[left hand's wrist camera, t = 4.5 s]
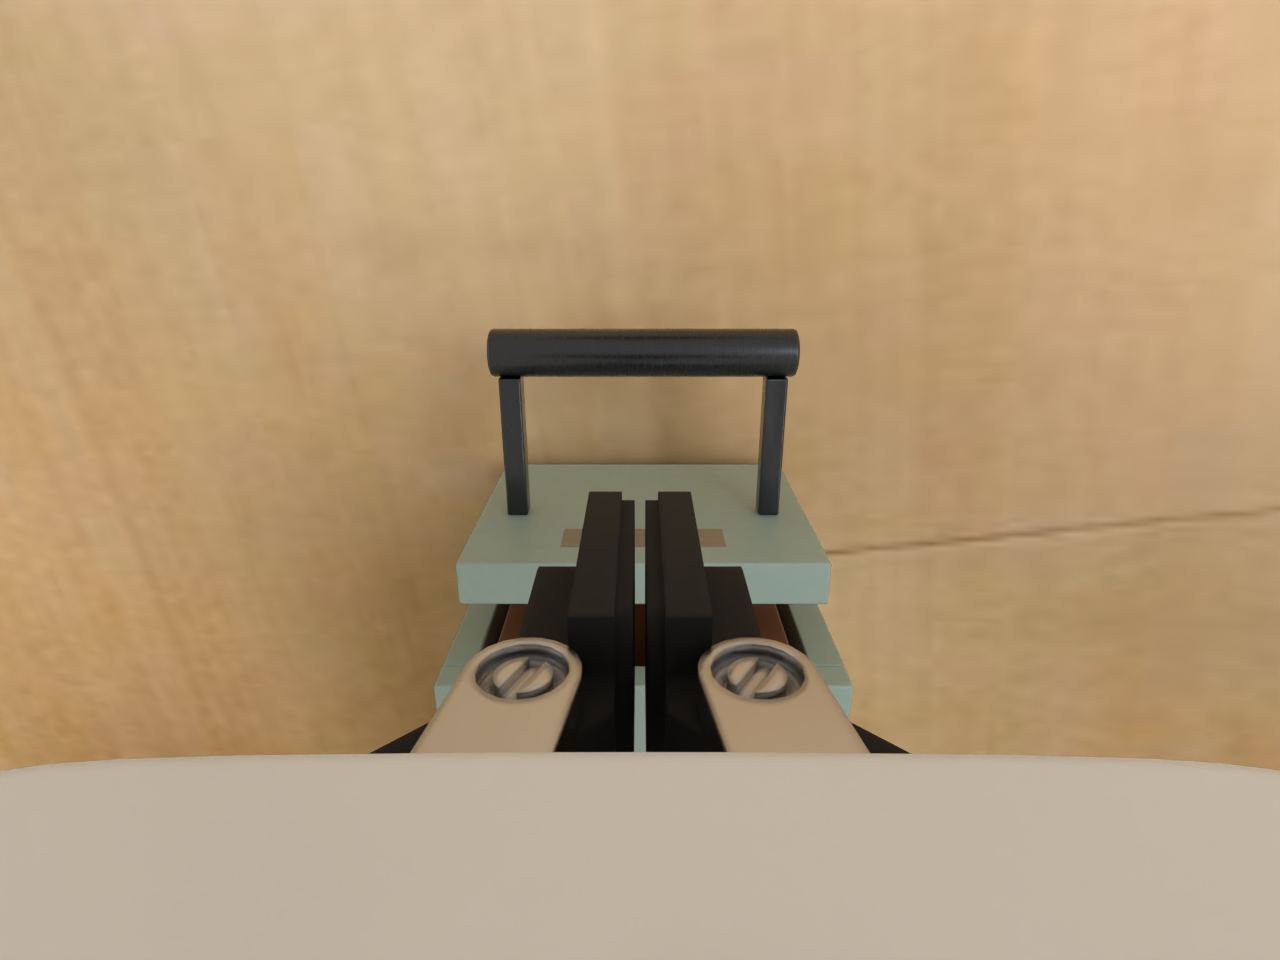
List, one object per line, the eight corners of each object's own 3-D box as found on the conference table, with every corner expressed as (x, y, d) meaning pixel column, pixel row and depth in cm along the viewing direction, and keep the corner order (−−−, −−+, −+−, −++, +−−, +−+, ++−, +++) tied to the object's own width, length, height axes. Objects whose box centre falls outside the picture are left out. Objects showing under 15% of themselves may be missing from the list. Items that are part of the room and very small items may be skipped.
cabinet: (499, 530, 28) (432, 686, 19) (785, 530, 28) (854, 686, 19) (526, 898, 34) (486, 1143, 25) (757, 898, 34) (798, 1143, 25)
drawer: (495, 308, 24) (434, 352, 17) (790, 308, 24) (853, 352, 17) (532, 846, 32) (500, 1031, 25) (752, 846, 32) (784, 1031, 25)
